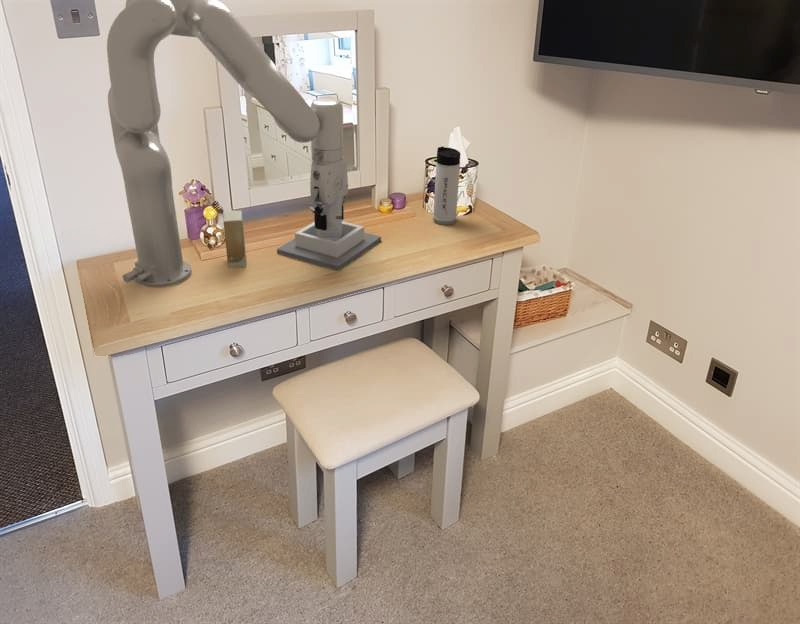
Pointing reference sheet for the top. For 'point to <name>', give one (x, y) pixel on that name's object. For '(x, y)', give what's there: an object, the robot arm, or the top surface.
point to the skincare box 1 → (234, 238)
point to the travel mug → (446, 185)
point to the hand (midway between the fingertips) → (329, 223)
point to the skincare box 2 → (333, 219)
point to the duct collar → (329, 246)
